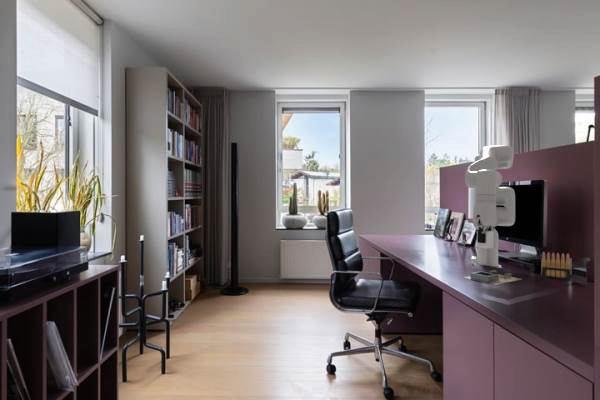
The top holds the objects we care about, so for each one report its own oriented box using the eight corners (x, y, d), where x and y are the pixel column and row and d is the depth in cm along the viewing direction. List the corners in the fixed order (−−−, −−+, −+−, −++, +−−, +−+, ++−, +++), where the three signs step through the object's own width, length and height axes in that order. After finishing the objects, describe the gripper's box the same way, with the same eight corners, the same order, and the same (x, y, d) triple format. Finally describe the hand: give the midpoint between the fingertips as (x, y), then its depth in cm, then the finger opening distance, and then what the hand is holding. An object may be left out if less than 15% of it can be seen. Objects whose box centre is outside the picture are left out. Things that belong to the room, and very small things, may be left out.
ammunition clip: (541, 277, 152) (541, 251, 152) (540, 277, 154) (541, 251, 154) (570, 280, 147) (571, 253, 147) (569, 279, 149) (570, 253, 149)
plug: (476, 247, 141) (477, 228, 141) (483, 246, 143) (483, 228, 143) (487, 248, 137) (487, 229, 137) (493, 247, 139) (493, 228, 139)
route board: (463, 280, 144) (463, 270, 144) (489, 275, 154) (490, 266, 154) (495, 288, 132) (495, 277, 132) (522, 282, 142) (522, 272, 142)
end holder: (470, 278, 142) (470, 272, 142) (481, 276, 145) (481, 271, 145) (488, 282, 135) (488, 276, 135) (498, 280, 139) (498, 274, 139)
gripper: (488, 199, 147) (487, 240, 147) (465, 198, 139) (464, 242, 139) (506, 199, 141) (505, 242, 141) (482, 199, 133) (481, 244, 133)
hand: (485, 242), depth 140 cm, fingers closed on plug, 4 cm apart
